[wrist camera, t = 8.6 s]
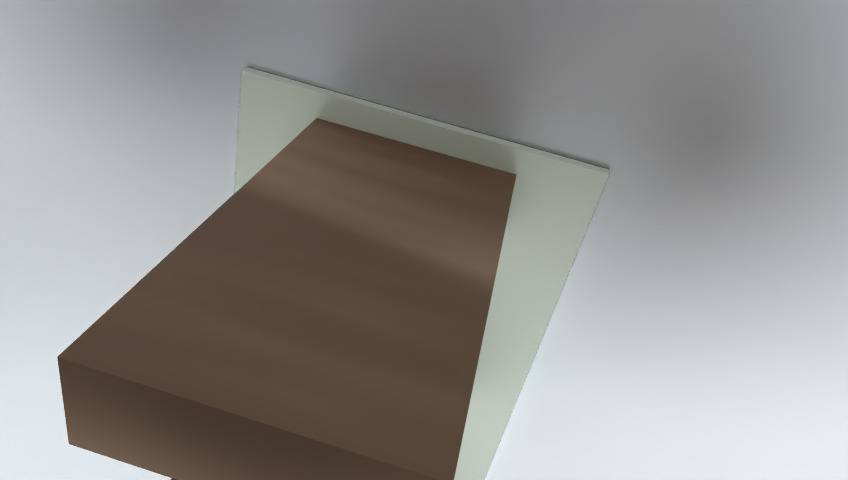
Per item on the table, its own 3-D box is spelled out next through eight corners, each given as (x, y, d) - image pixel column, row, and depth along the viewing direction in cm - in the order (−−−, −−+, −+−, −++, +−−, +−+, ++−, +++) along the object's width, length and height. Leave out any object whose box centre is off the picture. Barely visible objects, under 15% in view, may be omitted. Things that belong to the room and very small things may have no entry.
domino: (498, 231, 16) (424, 561, 8) (309, 176, 16) (68, 443, 9) (516, 174, 15) (453, 484, 7) (316, 117, 15) (57, 356, 8)
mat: (212, 606, 28) (209, 612, 28) (246, 67, 15) (241, 70, 15) (403, 672, 28) (402, 679, 28) (609, 169, 15) (609, 174, 15)
